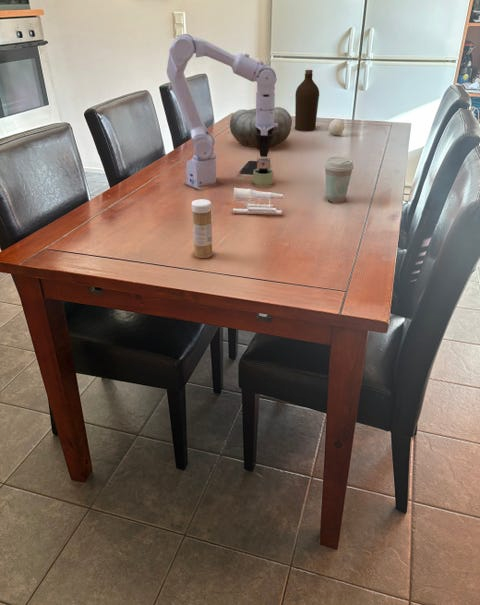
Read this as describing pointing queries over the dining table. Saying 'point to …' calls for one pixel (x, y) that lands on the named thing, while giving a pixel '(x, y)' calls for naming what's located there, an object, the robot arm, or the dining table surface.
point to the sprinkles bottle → (202, 228)
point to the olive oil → (306, 104)
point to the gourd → (245, 127)
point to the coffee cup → (337, 178)
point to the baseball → (336, 127)
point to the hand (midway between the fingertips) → (264, 153)
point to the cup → (263, 178)
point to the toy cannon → (256, 195)
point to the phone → (249, 168)
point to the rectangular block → (263, 165)
